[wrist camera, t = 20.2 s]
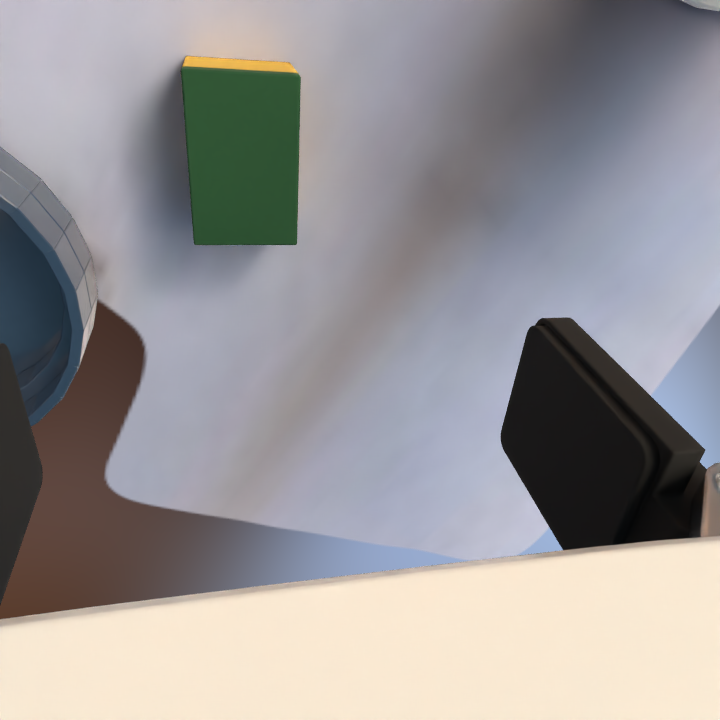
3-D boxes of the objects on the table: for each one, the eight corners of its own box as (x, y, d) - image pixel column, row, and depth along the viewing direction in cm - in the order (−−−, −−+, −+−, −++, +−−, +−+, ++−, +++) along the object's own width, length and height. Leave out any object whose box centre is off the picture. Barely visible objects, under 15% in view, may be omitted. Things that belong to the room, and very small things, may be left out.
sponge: (185, 55, 25) (180, 68, 22) (290, 62, 26) (300, 75, 23) (196, 214, 29) (194, 245, 26) (288, 215, 30) (297, 245, 27)
